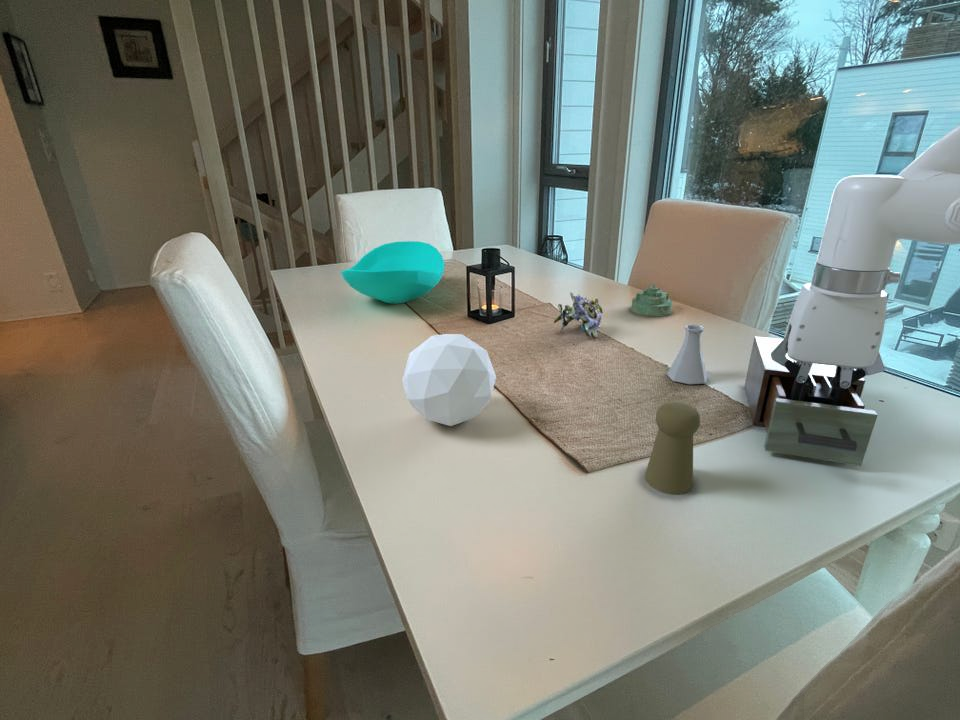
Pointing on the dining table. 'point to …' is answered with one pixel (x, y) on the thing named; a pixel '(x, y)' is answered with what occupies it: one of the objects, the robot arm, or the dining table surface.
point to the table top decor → (397, 271)
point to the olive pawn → (673, 448)
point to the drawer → (816, 425)
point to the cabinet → (765, 366)
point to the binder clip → (819, 391)
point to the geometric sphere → (449, 379)
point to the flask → (690, 359)
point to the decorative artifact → (652, 302)
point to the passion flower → (582, 314)
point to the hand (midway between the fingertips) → (813, 406)
